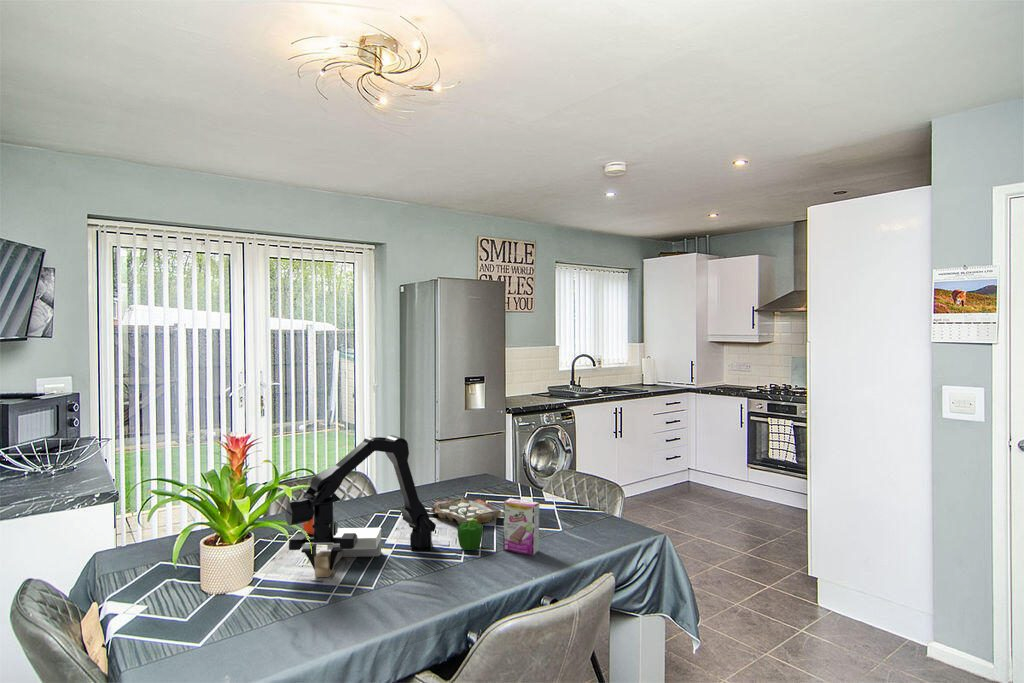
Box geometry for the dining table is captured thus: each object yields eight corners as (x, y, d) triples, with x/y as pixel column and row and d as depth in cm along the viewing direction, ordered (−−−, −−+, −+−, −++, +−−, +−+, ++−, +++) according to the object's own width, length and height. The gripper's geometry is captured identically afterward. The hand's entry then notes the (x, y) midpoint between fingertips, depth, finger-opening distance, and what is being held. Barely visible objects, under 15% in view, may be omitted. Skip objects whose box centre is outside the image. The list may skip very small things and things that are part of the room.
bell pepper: (452, 548, 190) (452, 518, 189) (470, 541, 196) (470, 512, 195) (469, 555, 184) (469, 524, 184) (487, 548, 190) (487, 518, 190)
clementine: (315, 539, 197) (315, 518, 196) (297, 537, 198) (297, 517, 198) (327, 531, 204) (327, 511, 204) (309, 529, 206) (309, 510, 206)
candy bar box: (502, 550, 188) (502, 501, 187) (508, 545, 192) (509, 497, 192) (533, 556, 183) (534, 506, 183) (539, 551, 188) (539, 502, 187)
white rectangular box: (381, 551, 186) (381, 527, 186) (376, 563, 177) (376, 537, 177) (334, 552, 185) (334, 528, 185) (327, 564, 176) (327, 538, 176)
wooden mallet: (347, 556, 181) (346, 537, 181) (328, 577, 166) (327, 556, 166) (335, 556, 181) (334, 537, 181) (314, 576, 167) (314, 556, 166)
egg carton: (418, 515, 223) (418, 502, 223) (459, 502, 239) (459, 490, 239) (470, 534, 203) (469, 519, 203) (511, 518, 219) (511, 505, 219)
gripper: (361, 508, 176) (361, 558, 177) (299, 509, 175) (300, 559, 176) (353, 520, 165) (353, 573, 166) (287, 522, 164) (288, 575, 164)
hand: (323, 569), depth 168 cm, fingers closed on wooden mallet, 4 cm apart
